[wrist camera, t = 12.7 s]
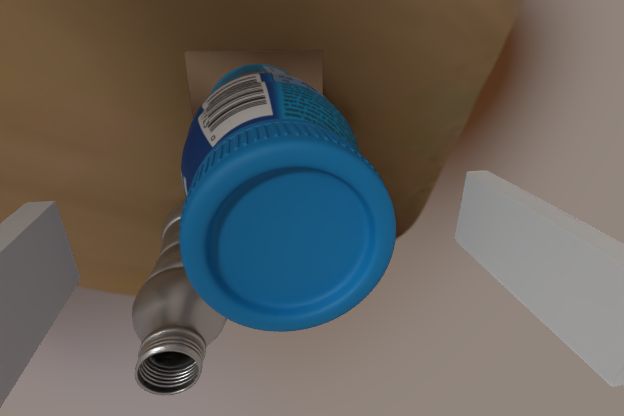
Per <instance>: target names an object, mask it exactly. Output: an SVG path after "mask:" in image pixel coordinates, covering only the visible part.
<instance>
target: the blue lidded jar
mask: <svg viewBox="0 0 624 416" xmlns="http://www.w3.org/2000/svg"><path fill="white" fill-rule="evenodd" d="M181 175H182V183H183V188H184V192H185V195H186V200H185V203H184V206H183V210H182V213H181V220H180V223H179V225H180V226H181V227H180V230H179V236H180V239H179V243H180V252H181V258H182V263H183V266H184V269H185V272H186V275H187V277H188V279H189V281H190V283H191V285H192V286H193V288H194V289H195V291H196V292H197V293H198V295H199V296H200V297H201V298H202V299H203V300H204V301H205V303H207V304H208V305H209V306H210V307H211V308H212V309H213V310H215V311H216V312H217V313H219V314H220V315H222V316H224V317H225V318H227V319H229V320H231V321H233V322H235V323H238V324H241V325H243V326H247V327H250V328H254V329H259V330H265V331H281V332H282V331H296V330H302V329H307V328H311V327H315V326H318V325H321V324H324V323H327V322H329V321H331V320H333V319H335V318H337V317H339V316H341V315H343V314H345V313H346V312H348V311H349V310H351V309H352V308H353V307H355V306H356V305H357V304H359V303H360V302H361V301H362V300H363V299H364V298H365V297H366V296H367V295H368V294H369V293H370V292H371V291H372V290H373V288H374V287H375V286H376V285H377V284H378V282H379V281H380V279H381V278H382V276H383V274H384V273H385V271H386V269H387V267H388V264H389V262H390V259H391V257H392V253H393V250H394V245H395V239H396V218H395V212H394V208H393V204H392V201H391V198H390V196H389V193H388V190H387V188H386V187H385V185H384V184H383V183H384V181H383V180H382V179H381V178H380V177H379V176H380V175H379V174H378V173H377V172H376V171H375V170H374V167H373V166H372V165H371V164H370V163H369V162H368V161H367V160H366V159H365V158H364V157H363V156H362V155H361V154H360V152H359V148H358V144H357V141H356V138H355V135H354V133H353V131H352V129H351V127H350V125H349V124H348V122H347V120H346V119H345V118H344V116H343V115H342V114H341V113H340V111H339V110H338V109H337V108H336V107H335V106H334V105H333V104H332V103H330V102H329V100H328V99H327V98H326V97H325V96H324V95H323V94H322V93H320V92H319V91H318V90H317V89H315V88H314V87H313V86H311V85H310V84H308V83H306V82H304V81H302V80H300V79H298V78H295V77H293V76H291V75H290V74H289V73H287V72H285V71H284V70H282V69H280V68H277V67H274V66H271V65H266V64H249V65H244V66H241V67H238V68H236V69H234V70H232V71H230V72H228V73H227V74H226V75H224V76H223V77H222V78H221V79H220V80H219V81H218V82H217V83H216V85H215V86H214V88H213V89H212V91H211V93H210V95H209V97H208V98H207V99H206V100H205V101H204V102H203V104H202V105H201V106H200V108H199V109H198V111H197V113H196V115H195V117H194V119H193V121H192V123H191V126H190V129H189V133H188V137H187V140H186V142H185V146H184V150H183V154H182V163H181Z"/></svg>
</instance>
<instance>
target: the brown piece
mask: <svg viewBox="0 0 624 416" xmlns="http://www.w3.org/2000/svg"><path fill="white" fill-rule="evenodd" d="M184 56H185V63H186V71H187V78H188V85H189V93H190V100H191V107H192V115H193V119H194V117H195V115H196V113H197V111H198V109H199V108H200V106H201V105H202V104H203V102H204V101H205V100H206V99H207V98H208V97H209V95H210V93H211V91H212V89H213V88H214V86H215V85H216V83H217V82H218V81H219V80H220V79H221V78H222V77H223V76H224V75H226V74H227V73H228V72H230V71H232V70H234V69H236V68H238V67H241V66H244V65H249V64H266V65H271V66H274V67H277V68H280V69H282V70H284V71H285V72H287V73H289V74H290V75H291V76H293V77H295V78H298V79H300V80H302V81H304V82H306V83H308V84H310V85H311V86H313V87H314V88H315V89H317V90H318V91H319V92H320V93H322V94H323V50H248V51H184Z"/></svg>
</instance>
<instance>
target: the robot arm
mask: <svg viewBox="0 0 624 416" xmlns="http://www.w3.org/2000/svg"><path fill="white" fill-rule="evenodd" d="M454 240H455V241H456V242H457V243H458V244H459V245H460V246H461V247H462V248H463V249H465V250H466V251H467V252H468V253H469V254H470V255H471V256H472V257H473V258H474V259H475V260H476V261H477V262H478V263H480V264H481V265H482V266H483V267H484V268H485V269H486V270H487V271H488V272H489V273H490V274H491V275H492V276H494V277H495V278H496V279H497V280H498V281H499V282H500V283H501V284H502V285H503V286H504V287H505V288H506V289H507V290H509V291H510V292H511V293H512V294H513V295H514V296H515V297H516V298H517V299H518V300H519V301H520V302H521V303H522V304H523V305H525V306H526V307H527V308H528V309H529V310H530V311H531V312H532V313H533V314H534V315H535V316H536V317H537V318H538V319H540V320H541V321H542V322H543V323H544V324H545V325H546V326H547V327H548V328H549V329H551V331H552V332H553V333H555V334H556V335H557V336H558V337H559V338H560V339H561V340H562V341H563V342H564V343H565V344H567V346H568V347H570V348H571V349H572V350H573V351H574V352H575V353H576V354H577V355H578V356H579V357H580V358H581V359H582V360H584V361H585V362H586V363H587V364H588V365H589V366H590V367H591V368H592V369H593V370H594V371H595V372H596V373H597V374H599V375H600V376H601V377H602V378H603V379H604V380H605V381H606V382H607V383H608V384H609V385H610V386H611V387H614V386H620V385H624V244H623V243H621V242H619V241H617V240H615V239H614V238H612V237H610V236H608V235H606V234H604V233H602V232H601V231H599V230H597V229H595V228H593V227H591V226H589V225H588V224H586V223H584V222H582V221H580V220H578V219H576V218H575V217H572V216H570V215H569V214H567V213H565V212H563V211H561V210H560V209H558V208H556V207H554V206H552V205H550V204H548V203H547V202H545V201H543V200H541V199H539V198H537V197H536V196H534V195H532V194H530V193H528V192H526V191H524V190H523V189H521V188H519V187H517V186H515V185H513V184H511V183H509V182H508V181H506V180H504V179H502V178H500V177H498V176H497V175H495V174H493V173H491V172H489V171H487V170H483V171H470V172H467V174H466V180H465V185H464V190H463V196H462V201H461V206H460V212H459V217H458V222H457V228H456V233H455V239H454ZM79 281H80V276H79V273H78V269H77V266H76V263H75V260H74V257H73V254H72V251H71V248H70V245H69V242H68V239H67V236H66V233H65V229H64V226H63V223H62V220H61V217H60V214H59V211H58V208H57V205H56V202H55V201H46V202H32V203H25V204H24V205H23V206H21V207H20V208H19V209H18V210H17V211H15V212H14V213H13V214H12V215H10V216H9V217H8V218H7V219H6V220H4V221H3V222H2V223H1V224H0V407H1V406H2V404H3V402H4V401H5V399H6V398H7V396H8V395H9V393H10V391H11V390H12V388H13V386H14V385H15V383H16V382H17V380H18V378H19V377H20V375H21V374H22V372H23V371H24V369H25V367H26V366H27V364H28V363H29V361H30V359H31V358H32V356H33V354H34V353H35V351H36V350H37V348H38V346H39V344H40V343H41V342H42V340H43V338H44V337H45V335H46V334H47V332H48V330H49V329H50V327H51V326H52V324H53V322H54V321H55V319H56V318H57V316H58V314H59V313H60V311H61V310H62V308H63V306H64V305H65V303H66V302H67V300H68V298H69V296H70V295H71V293H72V292H73V290H74V289H75V287H76V286H77V284H78V282H79Z"/></svg>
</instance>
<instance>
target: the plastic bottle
mask: <svg viewBox="0 0 624 416" xmlns="http://www.w3.org/2000/svg"><path fill="white" fill-rule="evenodd" d="M184 203H185V202H183V203H180V204H179V205H178V206H176V207H175V208H174V209H173V210H172V211H171V212H170V213H169V215H168V216H167V217H166V219H165V221H164V223H163V226H162V237H161V240H162V246H161V251H160V256H159V258H158V260H157V262H156V264H155V267H154V269H153V271H152V272H151V274H150V275H149V277H148V278H147V280H146V281H145V283H144V284H143V286H142V287H141V289H140V290H139V292H138V294H137V296H136V298H135V301H134V304H133V307H132V317H133V318H132V319H133V326H134V330H135V332H136V334H137V336H138V337H139V339H140V340H141V342H142V344H141V346H140V350H139V353H138V354H139V355H138V361H137V364H136V368H135V379H136V381H137V383H138V384H139V386H140V387H141V388H143V389H144V390H145V391H148V392H150V393H153V394H157V395H173V394H177V393H181V392H183V391H185V390H187V389H189V388H191V387H192V386H193V385H194V384H195V383H196V382H197V380H198V379H199V377H200V374H201V370H202V363H203V360H204V358H205V353H206V347H207V346H208V345H209V344H210V343H211V342H212V341H213V340H214V339H216V338H217V336H218V335H219V334H220V332H221V331H222V329H223V327H224V325H225V322H226V320H227V318H225V317H224V316H222V315H220V314H219V313H217V312H216V311H215V310H213V309H212V308H211V307H210V306H209V305H208V304H207V303H205V301H204V300H203V299H202V298H201V297H200V296H199V295H198V293H197V292H196V291H195V289H194V288H193V286H192V285H191V283H190V281H189V279H188V277H187V275H186V272H185V269H184V266H183V263H182V258H181V252H180V243H179V239H180V236H179V230H180V227H181V226H180V225H179V223H180V220H181V213H182V210H183V206H184Z"/></svg>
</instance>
